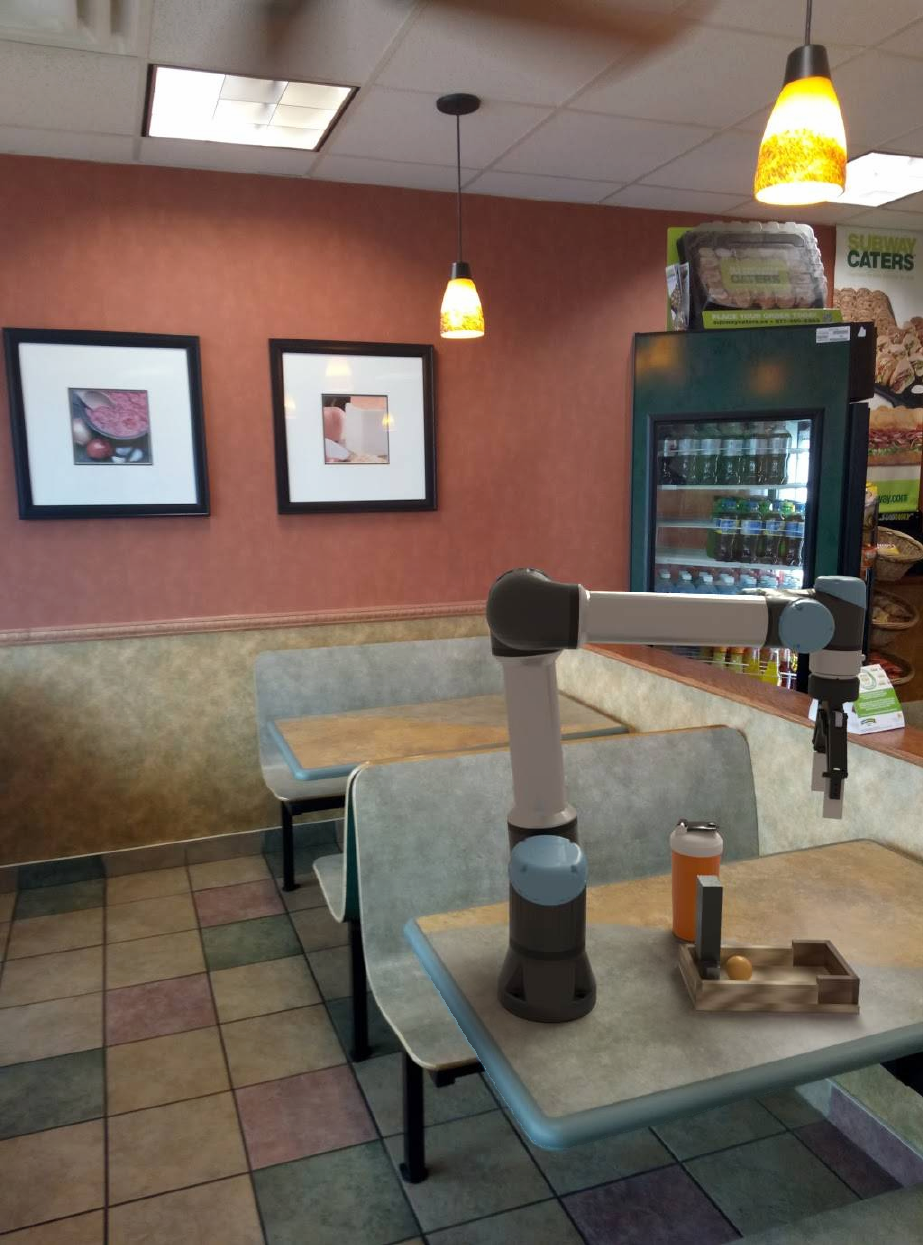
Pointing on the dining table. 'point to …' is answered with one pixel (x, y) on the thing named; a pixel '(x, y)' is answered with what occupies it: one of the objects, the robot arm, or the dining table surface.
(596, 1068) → the dining table surface
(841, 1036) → the dining table surface
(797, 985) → the tray
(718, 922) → the block
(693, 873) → the shaker bottle
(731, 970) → the ball
